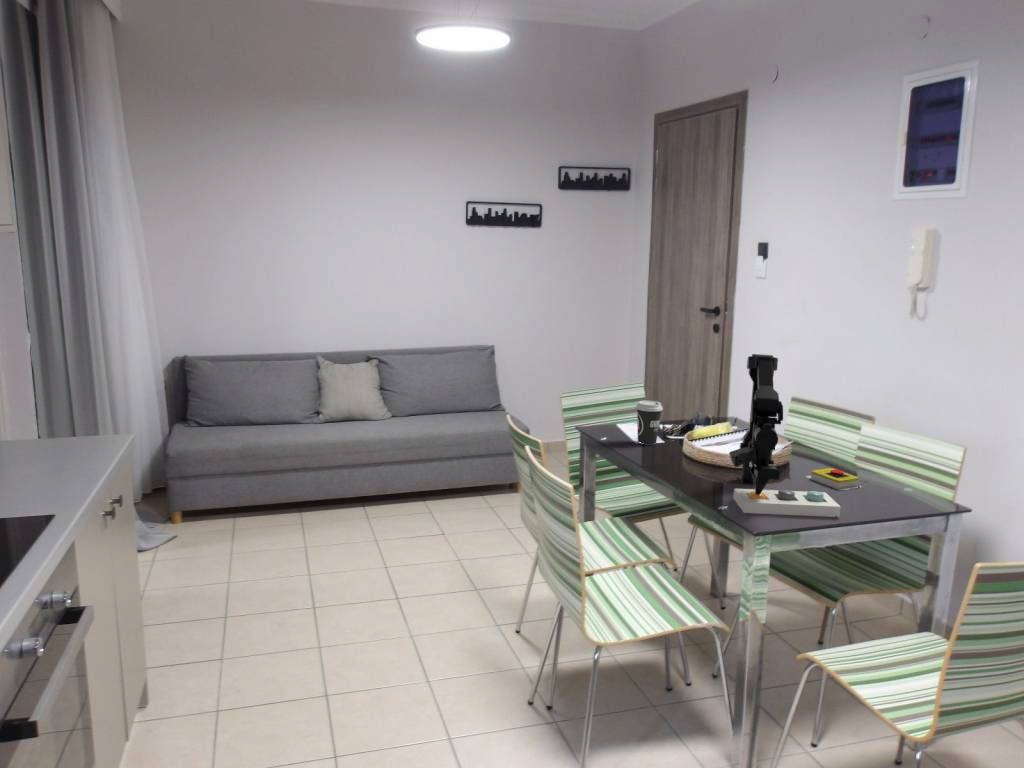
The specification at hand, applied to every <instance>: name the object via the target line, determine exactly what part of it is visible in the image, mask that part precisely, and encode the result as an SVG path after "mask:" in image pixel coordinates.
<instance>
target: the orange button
mask: <svg viewBox="0 0 1024 768" xmlns="http://www.w3.org/2000/svg"><path fill="white" fill-rule="evenodd" d="M749 498H750V499H765V498H766V494H764V493H762V492H761V493H760V494H756V493H755V492H750V493H749Z"/></svg>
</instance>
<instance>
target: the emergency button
mask: <svg viewBox="0 0 1024 768" xmlns="http://www.w3.org/2000/svg"><path fill="white" fill-rule="evenodd" d="M805 479H809V480H812V481H814V482H816V483H819V484H823V485H825V486H827V487H831V488H833V489H836V490H838V491H841V490H846V491H850V490H849V489H851V487H854V486H855V487H854V489H853V490H856V489H855V488H858V487H857V486H858V485H859V476H855V475H853V474H849V473H847V472H844V471H843V470H841V469H835V468H832V467H828V468H822V469H815V470H814V469H813V470H812V471H811V474H810V475H805ZM859 486H860V488H858V489H862V488H863V486H862V485H859ZM861 487H862V488H861Z"/></svg>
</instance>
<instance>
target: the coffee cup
mask: <svg viewBox="0 0 1024 768" xmlns="http://www.w3.org/2000/svg"><path fill="white" fill-rule="evenodd" d="M635 409H636V412H637V413H636V416H637V417H636V418H637V419H636V420H637V424H636V425H637V442H638V441H639V442H641V443H644V444H654V443H656V444H657V439H658V433H659V428H660V427H659V426H660V421H661V416H662V415H661V414H662V411H663V410H664V409H663V406H662V403H661V402H659V401H655V400H640V401H638V403H637V404H636V405H635Z"/></svg>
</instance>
